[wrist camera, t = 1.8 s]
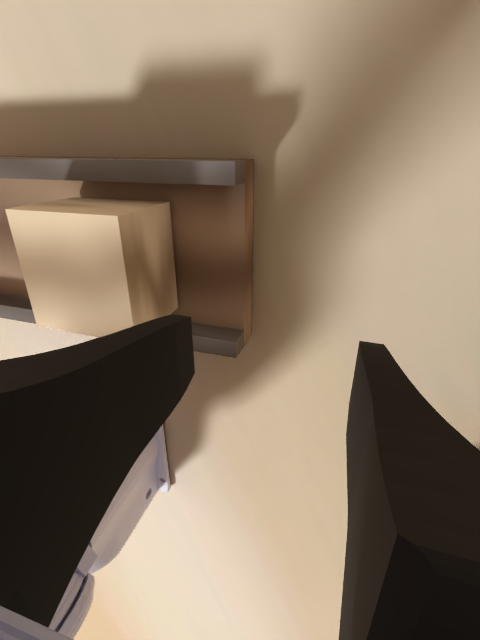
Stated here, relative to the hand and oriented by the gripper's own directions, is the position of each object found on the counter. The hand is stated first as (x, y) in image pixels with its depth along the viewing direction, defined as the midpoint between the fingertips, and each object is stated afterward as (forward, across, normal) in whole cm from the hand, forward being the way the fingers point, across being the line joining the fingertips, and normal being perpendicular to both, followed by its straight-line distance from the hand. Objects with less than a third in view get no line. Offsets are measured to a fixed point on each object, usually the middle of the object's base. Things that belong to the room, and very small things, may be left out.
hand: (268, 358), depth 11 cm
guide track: (+10, +18, 0) cm, 21 cm away
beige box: (+9, +10, 0) cm, 14 cm away
